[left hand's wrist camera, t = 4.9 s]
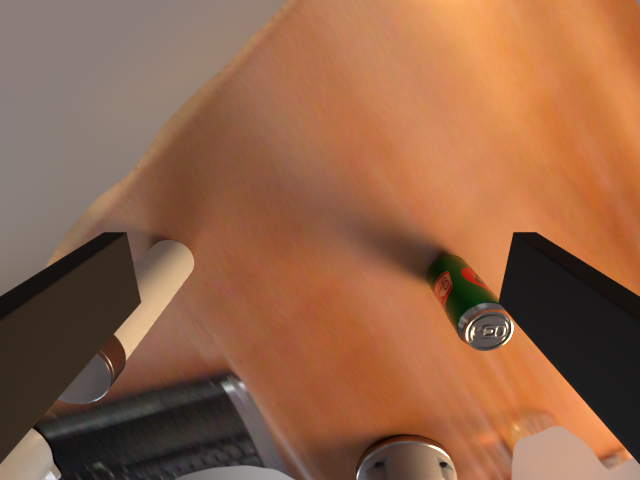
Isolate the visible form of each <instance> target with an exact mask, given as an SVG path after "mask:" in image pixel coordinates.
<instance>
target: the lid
mask: <svg viewBox="0 0 640 480" xmlns="http://www.w3.org/2000/svg"><path fill="white" fill-rule="evenodd" d="M125 363H126V353H125V350H124V347H123V345H122V344H121V342H120V340H119V339H118V338H117V337H116V336H115V335H113V336H112V337H111V338H110V339H109V340H108V342H107V343H106V344H105V345H104V346H103V347H102V348H101V350H100V351H99V352H98V353H97V354H96V355H95V356H94V358H93V359H92V360H91V361H90V362H89V363H88V364H87V366H86V367H85V368H84V369H83V370H82V371H81V372H80V374H79V375H78V376H77V377H76V378H75V379H74V380H73V382H72V383H71V384H70V385H69V386H68V387H67V388H66V390H65V391H64V392H63V393H62V394H61V395H60V397H59V398H58V400H61V401H64V402H68V403H77V404H81V403H89V402H93V401H95V400H98V399H99V398H101V397H102V396H104V395H105V394H106V392H107V391H108V390H109V388H110V387H111V386H112V384H113V383H114V382H115V380H116V379H117V377H118V376H119V375H120V373H121V372H122V370H123V369H124V366H125Z"/></svg>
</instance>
